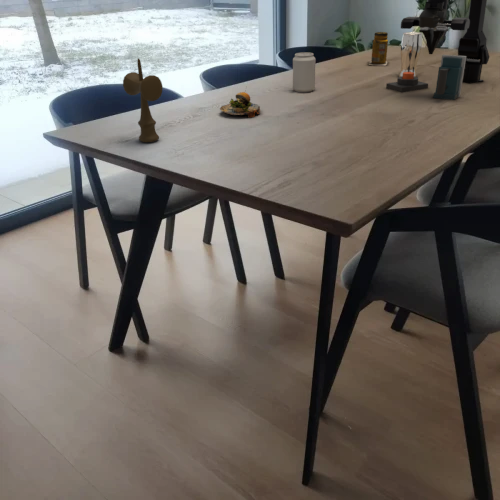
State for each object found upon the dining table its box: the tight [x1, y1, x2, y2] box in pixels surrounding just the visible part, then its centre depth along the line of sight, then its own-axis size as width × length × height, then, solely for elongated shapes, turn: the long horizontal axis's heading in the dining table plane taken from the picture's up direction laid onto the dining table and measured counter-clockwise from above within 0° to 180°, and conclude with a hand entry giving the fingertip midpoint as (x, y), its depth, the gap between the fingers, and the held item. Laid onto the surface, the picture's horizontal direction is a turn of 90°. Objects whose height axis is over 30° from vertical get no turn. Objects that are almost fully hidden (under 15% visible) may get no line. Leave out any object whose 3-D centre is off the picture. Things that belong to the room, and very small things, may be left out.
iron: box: [432, 54, 466, 101], centre depth 156 cm, size 12×7×11 cm
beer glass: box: [398, 31, 423, 77], centre depth 187 cm, size 7×7×15 cm
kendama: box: [122, 58, 163, 143], centre depth 127 cm, size 6×10×20 cm, turn 43°
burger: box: [219, 86, 261, 119], centre depth 151 cm, size 12×12×8 cm
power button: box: [402, 72, 414, 79], centre depth 172 cm, size 4×4×2 cm
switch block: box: [385, 76, 429, 93], centre depth 173 cm, size 11×8×4 cm
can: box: [292, 52, 316, 93], centre depth 174 cm, size 8×8×12 cm
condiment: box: [368, 31, 389, 66], centre depth 213 cm, size 7×8×12 cm
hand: (430, 54), depth 157 cm, fingers closed
